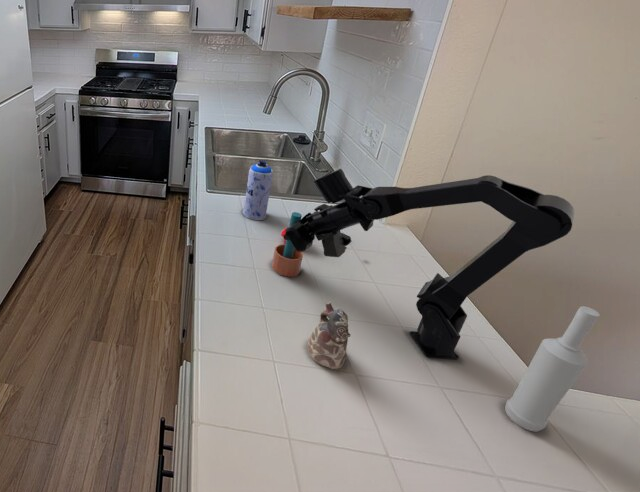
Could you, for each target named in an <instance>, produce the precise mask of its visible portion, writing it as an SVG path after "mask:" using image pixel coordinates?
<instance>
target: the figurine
mask: <svg viewBox="0 0 640 492" xmlns="http://www.w3.org/2000/svg"><path fill="white" fill-rule="evenodd" d="M325 308H326V310H324V311H321V313H320V317H319V318H320V320H319V323H318V324H317V325H316V327H315V328H314V330H313V331H312V333H311V335H310V337H309V339H308V342H307V352H308V353H309V356H310V357H311V359H312V360H313V361H314V362H315V363H317V364H319V365H321V366H323V367H325V368H326V367H327V368H329V369H331V370H336V369H341V368H343V365H344V364H345V361H346V358H347V355H348V354H347V349H348V341H349V338H350V337H351V335H352V334H351V333H349V315H348V314H347V313H346V312H345V311H344V310H342V309H340V308H337V309H334V307H333V304H332V302H329V301H328V302H326V303H325Z"/></svg>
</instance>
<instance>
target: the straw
mask: <svg viewBox="0 0 640 492" xmlns="http://www.w3.org/2000/svg"><path fill="white" fill-rule="evenodd" d="M290 215H291V216H290V221H289V225H288V227H289V226H291V225H292V224H293V223H295V222H296V221H299V223H300V221H301V219H302V218H303V215H302V214H301V213H300V212H297V211H293V212H291V214H290ZM284 244H285V249H284V254H283V257H284V258H288V259H292V258H293V253H294V249H295V247H294V246H293V244H292V242H291V241H290V240H286V243H284Z"/></svg>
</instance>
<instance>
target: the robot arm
mask: <svg viewBox="0 0 640 492" xmlns="http://www.w3.org/2000/svg"><path fill="white" fill-rule="evenodd" d="M312 183H313V184H314V185H315V187H316V189H317V190H318V191H319V193H320V195H321V196H322V198H323V200H324V201H325V202H327V204H326V203H322V204H320V205H318V206H317V207H315V208H314V209H313V210H314V212H312V213H311V212H308V213H306V214H305V215H303V216H302V217H301V221H300V223H299V221H296V222H295V223H293V224H292V225H291V226H289V225H288V226H287V227H288V228H287V227H286V229H285V228H284V229H285V232H286V234H285V235H284V236H283V237H284V238H283V237H282V238H283V240H284V239H285V240H290V241H291V242H292V244H293V246H294V247H295V249H296V251H297V252H302V253H303V252H305V251H307V250H308V249H309V248H311V247H312V246H313V243H314V240H315V239H316V240H317V241H318V242H319V241H321V245H322V248H323V255H324V256H325V257H331V258H341V257H342V255H344V253H345V252H346V250H347V249H348V247H347V246H348V245H350V244H352V237H351V236H350V235H348V234H346V233H344V232H341V231H342V230H344V229H347V228H350V227H353V226H356V225H360V226H361V228H362V229H363V231H364V232H368V231H369V230H370V229H371V228H372V227H373V226H374V222H375V220H376V221H378V220H382V219H386V218H389V217H390V218H391V217H393V216H396V215H398V214H399V215H400V214H401V213H404V212H407V211H410V210H417V209H425V208H427V209H428V208H436V207H445V206H453V205H462V204H472V203H484V204H485V205H487V206H490V207H491V208H492V209H494V210H495V211H497V212H498V213H500V214H501V215H502V216H504V217H505V218H507V219H508V220H510V221H511V223H510V224H509V226H508V227H507V229H506V230H505V231H504V232H503V233H501V234H500V235H499V236H498V237H497V238H495V239H494V240H493V241H492V242H491V243H490V244H488V245H487V246H486V247H484V248H483V249H482V250H481V251H480V252H478V253H477V254H476V255H475V256H474V257H473V258H471V259H470V260H469V261H468V262H466V263H465V264H464V265H463V266H461V267H460V268H459V269H458V270H457V271H456V272H454V273H453V274H452V275H449V276H446V277H444V276H442V275H441V274H440V273H438V272H437V273H436V274H435V275H434V277H433V278H432V279H431V280H429V281H426V282H424V284H423V285H422V288H421V289H420V291H419V292H418V293H417V295H416V298H417V299H418V300H417V301H416V302H415V303H416V304H415V306H416V309H417V311H418V313H419V315H420V316H421V319H420V321H419V324H418V327H417V329H416V331H412V330H410V331H409V332H408V334H409V335H410V337H411V338H412V340H413V341H414V343H415V344H416V345H417V346H418V348H419V349H420V350H421V352H422V353H423V355H424V356H425V357H427V358H428V359H429V358H432V359H443V360H444V359H446V360H459V358H460V356H459V354H457V352H456V351H455V349H456V347H457V346H458V343H459V341H460V339H461V337H462V336H461V335H460V333H461V330H462V329H463V326H464V324H465V322H466V320H467V317H468V314H467V313H466V311H465V310H464V308H463V307H462V305H463V303H464V302H465V300H466V299H467V298H468V296H470V295H471V294H472V293H473V292H475V291H476V290H477V289H479V288H480V287H482V286H483V285H485V284H486V283H487V282H488V281H489V280H491V279H493V278H494V277H495V276H496V275H497V274H499V273H500V272H501V271H502V270H504V269H505V268H507V267H508V266H509V265H511V264H512V263H514V261H516V260H517V259H518V258H520V257H521V256H522V255H524V254H525V253H527V252H528V251H531V250H534V249H539V248H542V247H545V246H547V245H550V244H551V243H553V242H556V241H557V240H560V239H562V238H564V237H565V236H567V235H568V234H569V233H570V232H571V231H572V228H573V224H574V218H575V217H574V216H575V209H574V207H573V205H572V204H571V203H570V202H569V201H568V200H567V199H566V198H564V197H560V196H558V195H554V194H543V193H541V192H539V191H537V190H534V189H533V188H529V187H526V186H523V185H519V184H516V183H512V182H509V181H506V180H504V179H502V178H499V177H497V176H495V175H491V174H490V175H489V174H488V175H486V174H485V175H482V176H479V177H475V178H468V179H461V180H455V181H447V182H443V183H435V184H429V185H423V186H415V187H399V186H376V187H368V186H363V185H359V184H358V185H356V186H354V187H353V186H352V184H351V182H350V181H349V179H348V178H347V176H346V174H345V171H343V169H342V168H339V169H335V170H333V171H329V172H327V173H325V174H323V175H321V176H320V177H317V178H315V179H314V180H313V181H312ZM343 200H344V201H343ZM341 201H342V202H341ZM339 202H340V203H339ZM331 203H332V204H331ZM336 203H337V204H336ZM328 204H331V205H328ZM333 204H334V205H333Z"/></svg>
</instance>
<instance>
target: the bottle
mask: <svg viewBox="0 0 640 492" xmlns="http://www.w3.org/2000/svg"><path fill="white" fill-rule="evenodd" d="M600 315H601V314H600V312H598V311H597V310H595V309H594V308H592V307H588V306H584V305H581V306H580V307H579V308H578V310H577V311H576V313H575V314H574V317H573V319H572V320H571V322H570V323H569V325H568V327H567V328H566V330H565V331H564V333H563V335H562V336H558V337H557V338H552V337H551V338H549V337H548V338H544V339H542V341H541V343H540V344H539V347H538V348H537V350H536V352H535V354H534V356H533V357H532V359H531V361H530V363H529V365H528V367H527V369H526V370H525V372H524V374H523V376H522V378H521V380H520V381H519V383H518V386H517V387H516V389H515V391H514V393H513V394H512V397H510V398H508V399H507V401H506V403H505V407H504V410H505V413H506V415H507V417H508V418H509V419H510V420H511V422H512V421H513V423H514V424H516V425H517V426H519V427H521V428H522V429H524V430H527V431H530V432H535V433H539V432H540V431H542V430H544V429H545V428H546V427H547V425H548V419H549V418H550V417H551V415H552V414H553V412H554V411H555V410H556V408H557V407H558V405H559V404H560V403H561V401H562V400H563V399H564V397H565V396H566V395H567V393H568V392H569V391H570V389H571V388H572V386H573V385H574V384H575V382H576V381H577V379H578V378H579V377H580V375H581V373H583V371H584V370H585V368H586V367H587V366H588V364H589V359H588V358H587V356H586V355H585V353H584V352H583V351H582V347H581V344H582V343H583V341H584V340H585V338H586V337H587V335H588V334H589V332H590V331H591V329H592V327H593V326H594V325H595V323H596V322H597V321H598V319H599V317H600Z"/></svg>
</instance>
